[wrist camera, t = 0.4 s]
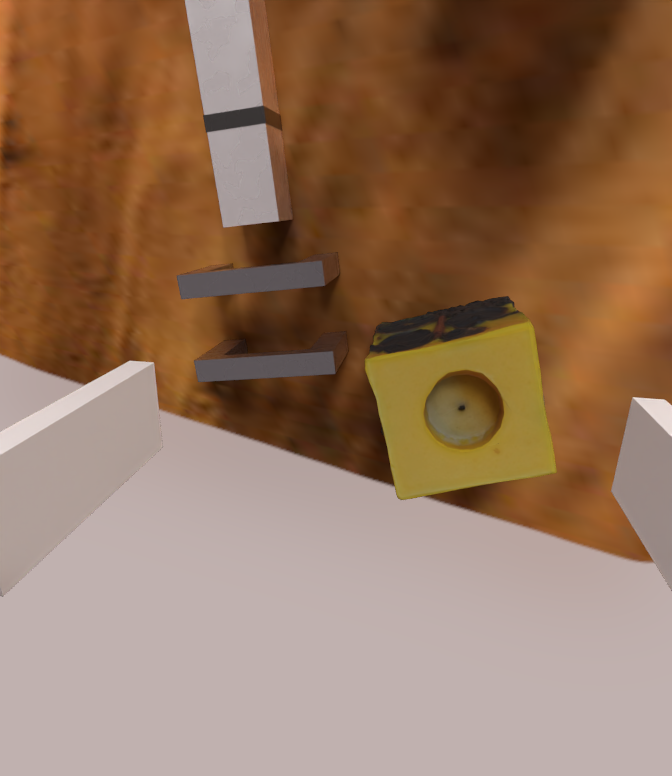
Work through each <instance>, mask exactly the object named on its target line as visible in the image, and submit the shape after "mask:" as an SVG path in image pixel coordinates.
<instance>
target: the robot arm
mask: <svg viewBox="0 0 672 776" xmlns="http://www.w3.org/2000/svg"><path fill="white" fill-rule="evenodd" d="M162 447H163V444H162V435H161V425H160V415H159V406H158V396H157V387H156V377H155V367H154V363H153V362H139V361H129V362H127V363H125V364H123V365H121V366H119V367H118V368H116V369H114V370H112V371H110V372H109V373H107V374H105V375H103V376H101V377H99V378H98V379H96V380H94V381H92V382H90V383H88V384H87V385H85V386H83V387H81V388H79V389H77V390H76V391H74V392H72V393H70V394H68V395H67V396H65V397H63V398H61V399H59V400H57V401H56V402H54V403H52V404H50V405H48V406H46V407H45V408H43V409H41V410H39V411H37V412H36V413H34V414H32V415H30V416H28V417H26V418H24V419H23V420H21V421H19V422H17V423H15V424H14V425H12V426H10V427H8V428H6V429H4V430H3V431H1V432H0V596H2V597H3V596H4V595H5V594H6V593H7V592H8V591H10V589H12V588H13V587H14V586H15V585H16V584H17V583H18V582H19V581H20V580H21V579H22V578H23V577H24V576H26V575H27V573H29V572H30V571H31V570H32V569H33V568H34V567H35V566H36V565H37V564H38V563H39V562H40V561H41V560H43V559H44V558H45V557H46V556H47V555H48V554H49V553H50V552H51V551H52V550H53V549H54V548H55V547H57V546H58V545H59V544H60V543H61V542H62V541H63V540H64V539H65V538H66V537H67V536H68V535H69V534H70V533H72V532H73V531H74V530H75V529H76V528H77V527H78V526H79V525H80V524H81V523H82V522H83V521H84V520H85V519H86V518H88V516H89V515H91V514H92V513H93V512H94V511H95V510H96V509H97V508H98V507H99V506H100V505H101V504H102V503H104V502H105V501H106V500H107V499H108V498H109V497H110V496H111V495H112V494H113V493H114V492H115V491H116V490H117V489H119V488H120V487H121V486H122V485H123V484H124V483H125V482H126V481H127V480H128V479H129V478H130V477H131V476H132V475H134V474H135V473H136V472H137V471H138V470H139V469H140V468H141V467H142V466H143V465H144V464H145V463H146V462H147V461H149V460H150V459H151V458H152V457H153V456H154V455H155V454H156V453H157V452H158V451H159V450H160V449H161V448H162ZM611 492H612V493H613V495H614V497H615V498H616V500H617V501H618V503H619V505H620V506H621V508H622V510H623V511H624V513H625V515H626V516H627V518H628V520H629V521H630V523H631V525H632V526H633V528H634V530H635V531H636V533H637V534H638V536H639V538H640V539H641V541H642V543H643V544H644V546H645V548H646V549H647V551H648V553H649V554H650V556H651V558H652V559H653V561H654V563H655V564H656V566H657V567H658V569H659V571H660V572H661V574H662V576H663V577H664V579H665V581H666V582H667V584H668V585H669V587H670V589H671V591H672V406H671V405H670V404H669V403H668V402H667V401H666V400H662V399H648V398H634V397H633V398H632V402H631V406H630V411H629V415H628V420H627V424H626V428H625V433H624V437H623V442H622V446H621V451H620V455H619V459H618V464H617V468H616V473H615V477H614V481H613V486H612V490H611Z"/></svg>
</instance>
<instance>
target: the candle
mask: <svg viewBox="0 0 672 776" xmlns="http://www.w3.org/2000/svg"><path fill="white" fill-rule="evenodd" d="M373 341H374V343H373V345H371V346H370V353H369V355H368V356H367V357H366V358H365V371H366V374H367V377H368V380H369V383H370V385H371V387H372V390H373V392H374V395H375V397H376V399H377V405H378V412H379V416H380V420H381V423H382V427H381V433H382V435H384V436H385V440H386V444H387V449H388V454H389V460H390V467H391V472H392V476H393V480H394V485H395V490H396V494H397V497H398V498H399V499H401V500H405V499H412V498H417V497H422V496H427V495H432V494H438V493H444V492H449V491H453V490H458V489H464V488H469V487H475V486H480V485H486V484H493V483H499V482H505V481H511V480H518V479H525V478H533V477H540V476H545V475H549V474H554V473H557V471H556V463H555V456H554V450H553V443H552V437H551V433H550V430H549V426H548V422H547V417H546V411H545V404H544V396H543V391H542V381H541V371H540V365H539V359H538V352H537V345H536V338H535V332H534V327H533V325H532V323H531V321H530V320H529V319H528V318H527V317H526V316H525V315H524V314H523V313H522V312H519V311H518V310H516V308H514V302H513V301H511V300H510V298H509V297H508V296H506V297H498V298H492V299H488V300H485V301H475V302H472V303H469V304H467V305H466V306H462V305H459V306H457V307H451V308H449V309H444V310H438V311H434V312H428V313H427V314H426V315H421V316H417V317H414V318H407V319H403V320H399V321H396V322H392V323H389V322H382V323H381V324H380V325H378V326H377V327H376V330H375V335H374V336H373Z"/></svg>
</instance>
